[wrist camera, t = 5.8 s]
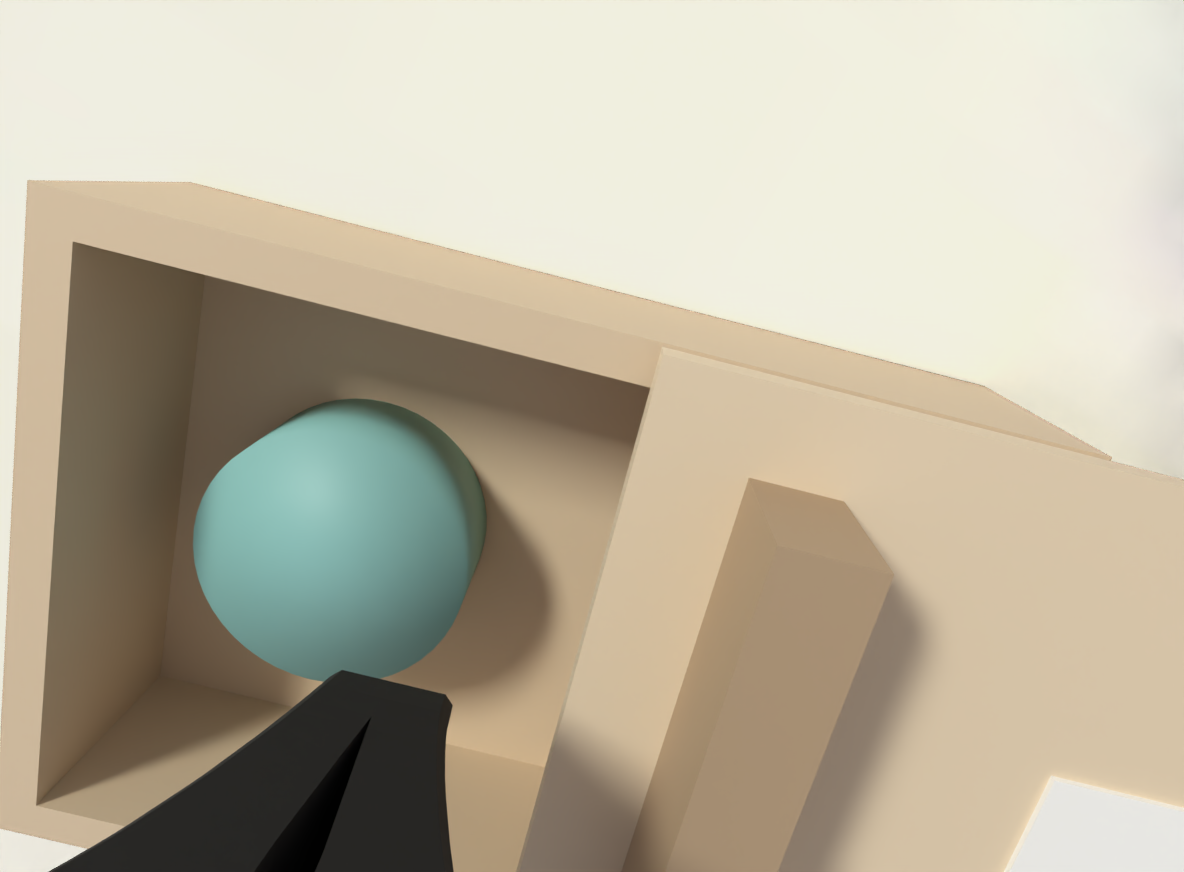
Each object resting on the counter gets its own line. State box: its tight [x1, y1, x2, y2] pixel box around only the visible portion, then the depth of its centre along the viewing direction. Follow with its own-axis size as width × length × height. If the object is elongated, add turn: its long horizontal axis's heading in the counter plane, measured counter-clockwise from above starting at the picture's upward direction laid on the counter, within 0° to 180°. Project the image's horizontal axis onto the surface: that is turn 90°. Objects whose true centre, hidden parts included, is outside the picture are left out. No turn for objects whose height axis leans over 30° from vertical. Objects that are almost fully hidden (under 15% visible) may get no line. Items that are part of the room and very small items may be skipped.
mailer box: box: [0, 180, 1112, 872], centre depth 14 cm, size 14×10×4 cm
